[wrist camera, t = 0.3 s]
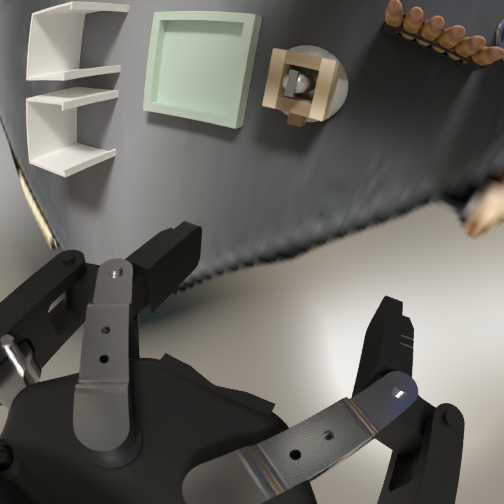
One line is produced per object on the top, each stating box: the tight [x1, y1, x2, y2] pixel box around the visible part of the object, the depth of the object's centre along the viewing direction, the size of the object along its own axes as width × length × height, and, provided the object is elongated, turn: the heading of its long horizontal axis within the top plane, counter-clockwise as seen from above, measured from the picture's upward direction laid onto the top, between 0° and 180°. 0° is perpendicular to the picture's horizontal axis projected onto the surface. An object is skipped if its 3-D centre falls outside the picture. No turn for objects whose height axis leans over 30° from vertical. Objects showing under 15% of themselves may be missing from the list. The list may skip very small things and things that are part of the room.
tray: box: [143, 11, 262, 129], centre depth 34 cm, size 14×14×2 cm
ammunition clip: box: [382, 0, 504, 71], centre depth 19 cm, size 11×2×12 cm, turn 76°
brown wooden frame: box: [262, 48, 341, 127], centre depth 30 cm, size 8×6×4 cm
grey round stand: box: [281, 45, 349, 122], centre depth 29 cm, size 9×9×7 cm
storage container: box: [26, 1, 130, 177], centre depth 37 cm, size 25×11×11 cm, turn 167°
